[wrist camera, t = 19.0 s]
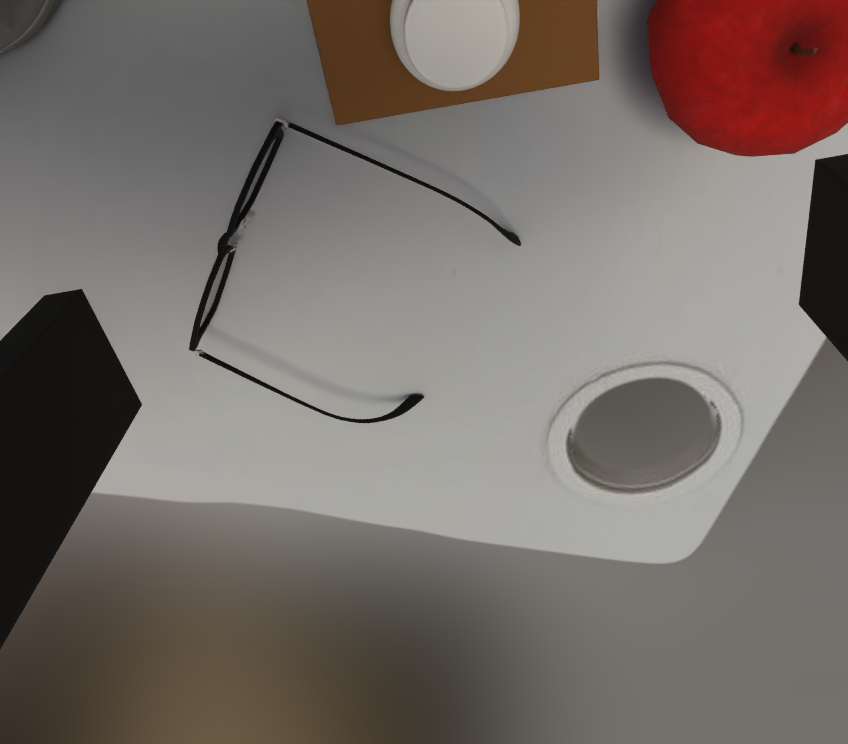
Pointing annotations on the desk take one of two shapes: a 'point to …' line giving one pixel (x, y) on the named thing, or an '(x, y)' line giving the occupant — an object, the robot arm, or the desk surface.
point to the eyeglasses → (237, 221)
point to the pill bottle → (454, 39)
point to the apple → (752, 71)
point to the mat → (403, 93)
